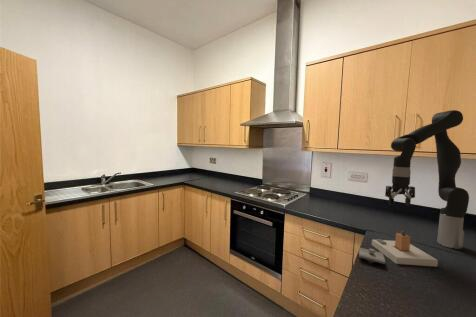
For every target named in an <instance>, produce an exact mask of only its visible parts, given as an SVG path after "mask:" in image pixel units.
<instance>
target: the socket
mask: <svg viewBox="0 0 476 317" xmlns="http://www.w3.org/2000/svg"><path fill="white" fill-rule="evenodd" d="M371 246H372V247H374V248H375V249H376V250H378V252H381V253H383V255H384V257H387V258H388V259H389V260H391V261H392V262H393V263H394V264H396V265H406V266H407V265H409V266H411V265H412V266H423V267H435V268H436V267H438V265H439V264H438V263H439V260H438V259H437V258H435V257H433V256H431V255H430V254H428V253H426V252H424V251H423V250H422V249H420V248H418V247H416V246H414V245H413V244H412V243H410V250H409V252H403V251H399V250H398V249H396V248H395V240H387V239H380V238H376V239H371Z"/></svg>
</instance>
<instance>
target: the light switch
mask: <svg viewBox="0 0 476 317" xmlns="http://www.w3.org/2000/svg"><path fill="white" fill-rule="evenodd" d="M358 255H359V256H358V257H359V258H361V259H363V260H366V261H367V263H369V264H374V263H375V262H376V263H379V264H382V265H386V259H385V255H384V254H383V253H382V252H380V251H376V250H375V249H373V248H368V249H367V248H365V247H358Z"/></svg>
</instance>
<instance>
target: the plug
mask: <svg viewBox="0 0 476 317" xmlns="http://www.w3.org/2000/svg"><path fill="white" fill-rule="evenodd" d="M406 233H407V232H406V231H405V230H401V232H400V233H399V232H396V233H395V240H394V241H395V248H396V249H398V250H399V251H403V252H409V250H410V244H411V238H412V237H411V236H409V235H407V234H406Z"/></svg>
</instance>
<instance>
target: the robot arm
mask: <svg viewBox="0 0 476 317" xmlns="http://www.w3.org/2000/svg"><path fill="white" fill-rule="evenodd" d="M463 120H464V114H463V113H462V112H461V111H460V110H455V109H452V110H447V111H442V112H437V113H435V114H433V115H432V117H431V123H429V124H426V125H423V126H421V127H419V128H417V129H415V130H413V131H411V132H410V133H408V134H404V135H401V136H399V137H398V136H397V137H396V138H395V139H393V140H392V141H391V144H390V148H391V150H393V151H395V152H401V154H400V155H397V156H394V158H393V168H392V176H391V184H392V185H386V186H385V193H384V197H387V198H388V204H389V205H390V206H395V199H394V198H395V197H396V196H398V195H403V196H404V197H405V198H404V200H405V201H404V205H405V206H408V207H409V206H411V202H412V199H414V198H416V187H415V186H411V173H412V172H411V160H412V158H413V156H414V153H415V150H416V148H417V145H419V144H421V143H423V142H424V141H426V140H428V139H430V138H433V136H434V141H435V150H436V160H437V161H436V162H437V169H438V189H437V190H438V191H437V192H438V193H437V194H438V196H439V198H440V199H441V200H442V201H444V202H446V206H445V207H441V208H440V210H439V211H440V212H439V220H438V230H437V241H436V243H437V242H438V243H439V245H440V244H441V245H440V246H443V247H447V248H450V249H453V248H454V249H455V250H460V249H463V248H464V247H463V246H464V238H465V231H464V229H463V228H464V222H465V221H464V219H465V215H466V213H467V212H468V209H469V208H468V207H469V203H470V194H469V192H468V190H466V189H464V188H462V187H457V185H456V175H457V173H458V171H459V169H460V168H461V164H462V158H461V150H460V148H459V147H458V146H457V145H456V144H455V143H454V142H453V141H452V140H451V139H450V137H449V134H448V131H447V130H449V129H452V128H455V127H457V126H460V125H461V124H462V123H463ZM438 243H437V244H438Z"/></svg>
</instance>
